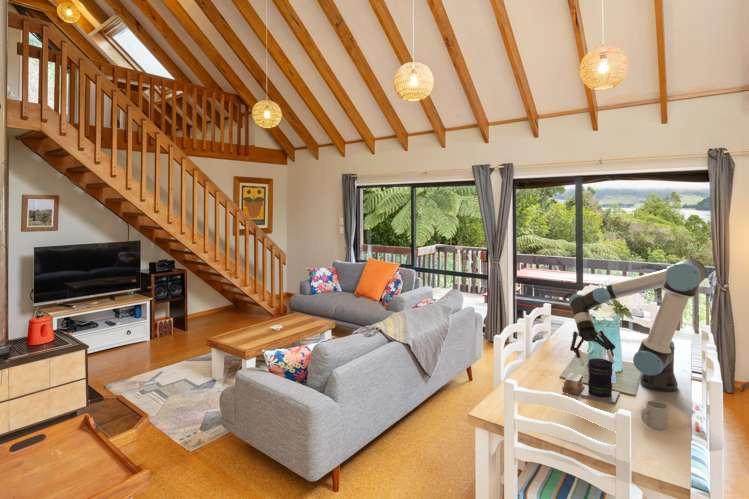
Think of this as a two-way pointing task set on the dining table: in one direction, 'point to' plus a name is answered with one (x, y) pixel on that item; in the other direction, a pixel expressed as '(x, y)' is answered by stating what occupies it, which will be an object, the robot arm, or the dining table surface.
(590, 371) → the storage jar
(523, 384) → the dining table surface
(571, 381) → the brown wooden block
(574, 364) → the dining table surface
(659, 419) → the cup
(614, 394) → the slate board
